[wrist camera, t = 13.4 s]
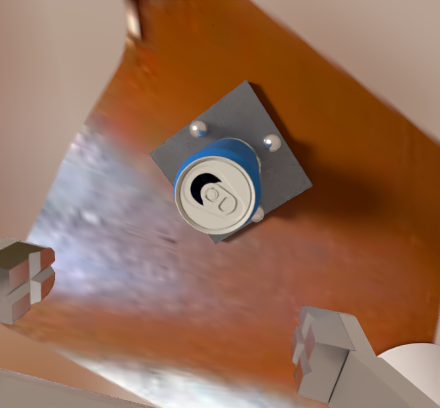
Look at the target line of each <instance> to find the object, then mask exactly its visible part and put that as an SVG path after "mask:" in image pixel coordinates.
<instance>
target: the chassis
mask: <svg viewBox="0 0 440 408" xmlns="http://www.w3.org/2000/svg"><path fill="white" fill-rule="evenodd" d="M228 138H229V139H236V140H239V141H241V142H243V143H245V144H246V145H248V146H249V147H250V148H251V149H252V150H253V152H254V153H255V155H256V157H257V160H258V165H259V173H260V183H261V199H260V203H259V206H258V209H257V211H256V212H255V214H254V216H253V217H252V218H251V219H250V220H249V221H248V222H247V223H246V224H245V225H244V226H242V227H240V228H239V229H236V230H234V231H232V232H229V233H226V234H209V236H210V237H211V238H212V240H213V241H214V242H215V244H217V243H218V242H220V241H222V240H223V239H225V238H227V237H228V236H230V235H232V234H233V233H235V232H237V231H238V230H240V229H242V228H243V227H245V226H247V225H248V224H250V223H252V222H253V221H254V222H259V221H261V220H262V219H263V217H264V215H265V214H267V213H268V212H270V211H272V210H273V209H275V208H277V207H278V206H280V205H282V204H283V203H285V202H287V201H288V200H290V199H292V198H293V197H295V196H297V195H298V194H300V193H302V192H303V191H305V190H307V189H308V188H310V187H312V186H313V185H312V183H311V182H310V180H309V178H308V177H307V175H306V174H305V172H304V171H303V169H302V167H301V166H300V164H299V163H298V161H297V159H296V158H295V156H294V155H293V153H292V151H291V150H290V148H289V147H288V145H287V144H286V142H285V140H284V139H283V137H282V136H281V134H280V132H279V131H278V129H277V128H276V126H275V124H274V123H273V121H272V120H271V118H270V116H269V115H268V113H267V112H266V110H265V109H264V107H263V105H262V104H261V102H260V101H259V99H258V97H257V96H256V94H255V93H254V91H253V89H252V88H251V86H250V85H249V83H248V82H247V80H246V81H244V82H243V83H242V84H240V85H239V86H238V87H237V88H235V89H234V90H233V91H231V92H230V93H229V94H227V95H226V96H225V97H223V98H222V99H221V100H219V101H218V102H217V103H215V104H214V105H213V106H211V107H210V108H209V109H207V110H206V111H205V112H204V113H202V114H201V115H200V116H198V117H197V118H196V119H194V120H193V121H192V122H190V123H189V124H188V125H186V126H185V127H184V128H182V129H181V130H180V131H178V132H177V133H176V134H174V135H173V136H172V137H170V138H169V139H168V140H167V141H165V142H164V143H163V144H161V145H160V146H159V147H157V148H156V149H155V150H153V151H152V152H151V153H149V154H150V155H151V157H152V158H153V160H154V161H155V162H156V164H157V165H158V166H159V168H160V169H161V170H162V172H163V173H164V174H165V176H166V177H167V179H168V180H169V181H170V183H171V184H172V185H173V187H174V183H175V178H176V175H177V172H178V170H179V168H180V167H181V165H182V164H183V163H184V161H185V160H187V159H188V158H189V157H190V156H191V155H193V154H194V153H196V152H198V151H199V150H201V149H203V148H205V147H206V146H208V145H210V144H212V143H213V142H215V141H218V140H221V139H228Z"/></svg>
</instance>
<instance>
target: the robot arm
mask: <svg viewBox="0 0 440 408" xmlns="http://www.w3.org/2000/svg"><path fill="white" fill-rule="evenodd" d="M54 261H55V253H54V250H53V249H52V248H50V247H46V246H41V245H37V244H33V243H29V242H25V241H21V240H17V239H12V238H2V239H0V322H2V323H7V324H12V325H13V324H14V323H15V322H16V321H17V320H19V319H20V318H21V317H22V316H23V315H25V314H26V313H27V312H28V311H29V310H30V307H31V304H33V303H36V302H39V301H41V300H43V299H44V298H45V297H46V296H47V295H48V294H49V292H50V290H51V289H52V287H53V284H54V281H55V272H54V270H53V269H52V267H51V266H50V265H51V264H52V263H53V262H54ZM298 317H299V322H300V324H299V325H298V326H297V327H295V328H294V332H293V335H292V341H291V358H292V361H293V363H294V364H295V365H296V369H295V372H294V378H295V384H296V390H297V395H299V396H303V397H306V398H310V399H314V400H317V401H321V402H324V403H328V404H329V405H328V406H329V407H330V408H440V345H436V344H429V343H415V344H407V345H402V346H399V347H395V348H393V349H390V350H388V351H386V352H384V353H382V354H380V355H379V356H376V355H375V353H374V351H373V349H372V348H371V346H370V344H369V342H368V340H367V338H366V336H365V334H364V332H363V330H362V328H361V326H360V324H359V322H358V321H357V319H356V317H355V316H354V315H352V314H346V313H341V312H335V311H330V310H325V309H320V308H315V307H310V306H305V305H303V306H302V307H301V309H300V312H299V315H298ZM0 408H153V407H150V406H146V405H142V404H138V403H135V402H131V401H127V400H123V399H119V398H115V397H111V396H107V395H104V394H99V393H96V392H91V391H88V390H84V389H80V388H76V387H72V386H68V385H64V384H60V383H57V382H53V381H49V380H45V379H41V378H37V377H34V376H30V375H26V374H22V373H18V372H14V371H10V370H6V369H2V368H0Z"/></svg>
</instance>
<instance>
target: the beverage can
mask: <svg viewBox="0 0 440 408" xmlns="http://www.w3.org/2000/svg"><path fill="white" fill-rule="evenodd" d="M174 196H175V201H176V205H177V208H178V210H179V212H180V214H181V215H182V217H183V218H184V219H185V220H186V222H187V223H188V224H190V225H191V226H192V227H194V228H195V229H197V230H199V231H201V232H204V233H208V234H226V233H229V232H232V231H234V230H236V229H239V228H240V227H242V226H244V225H245V224H246V223H247V222H248V221H249V220H250V219H251V218H252V217H253V216H254V214H255V212H256V211H257V209H258V206H259V203H260V199H261V183H260V173H259V165H258V160H257V157H256V155H255V153H254V152H253V150H252V149H251V148H250V147H249V146H248V145H246V144H245V143H243V142H241V141H239V140H236V139H229V138H228V139H221V140H218V141H215V142H213V143H212V144H210V145H208V146H206V147H205V148H203V149H201V150H199V151H198V152H196V153H194V154H193V155H191V156H190V157H189V158H188V159H187V160H185V161H184V163H183V164H182V165H181V167H180V168H179V170H178V172H177V175H176V178H175V183H174Z"/></svg>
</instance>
